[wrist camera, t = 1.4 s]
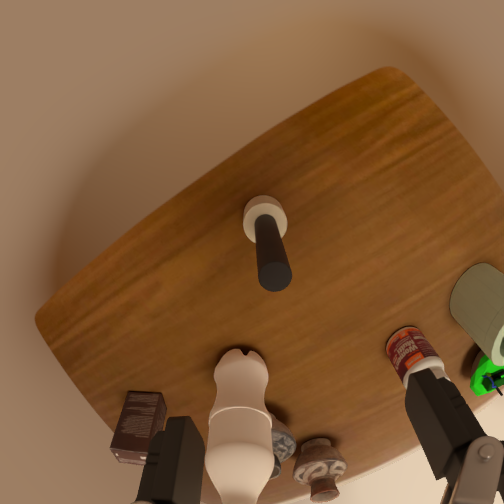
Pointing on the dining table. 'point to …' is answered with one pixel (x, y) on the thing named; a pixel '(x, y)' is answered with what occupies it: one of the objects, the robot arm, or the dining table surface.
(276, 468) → the pottery
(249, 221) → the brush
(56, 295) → the dining table surface
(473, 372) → the green rounded lump
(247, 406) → the water bottle
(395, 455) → the dining table surface
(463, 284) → the jar
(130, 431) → the box
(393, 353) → the pill bottle
